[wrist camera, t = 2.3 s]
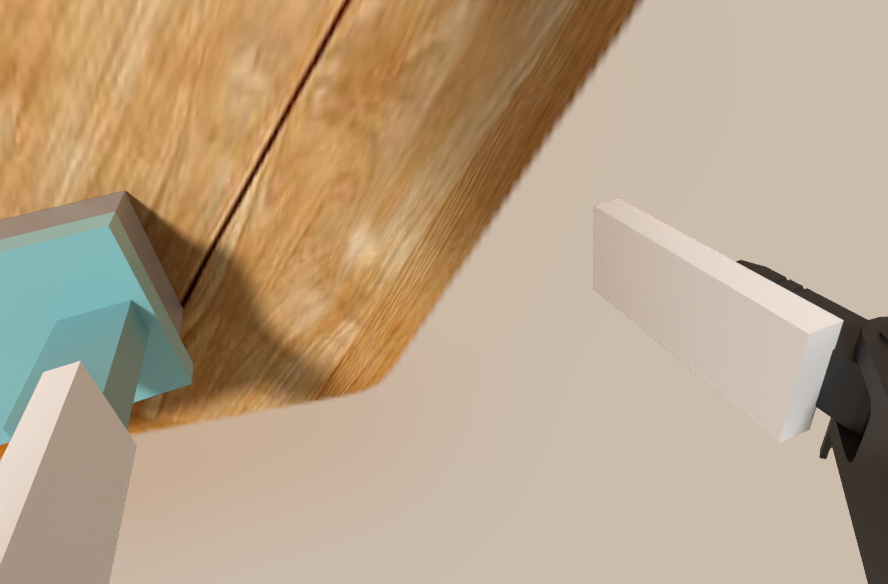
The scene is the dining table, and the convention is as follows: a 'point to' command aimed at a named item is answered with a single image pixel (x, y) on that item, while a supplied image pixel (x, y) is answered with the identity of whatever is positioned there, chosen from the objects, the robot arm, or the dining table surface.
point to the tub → (131, 226)
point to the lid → (83, 318)
